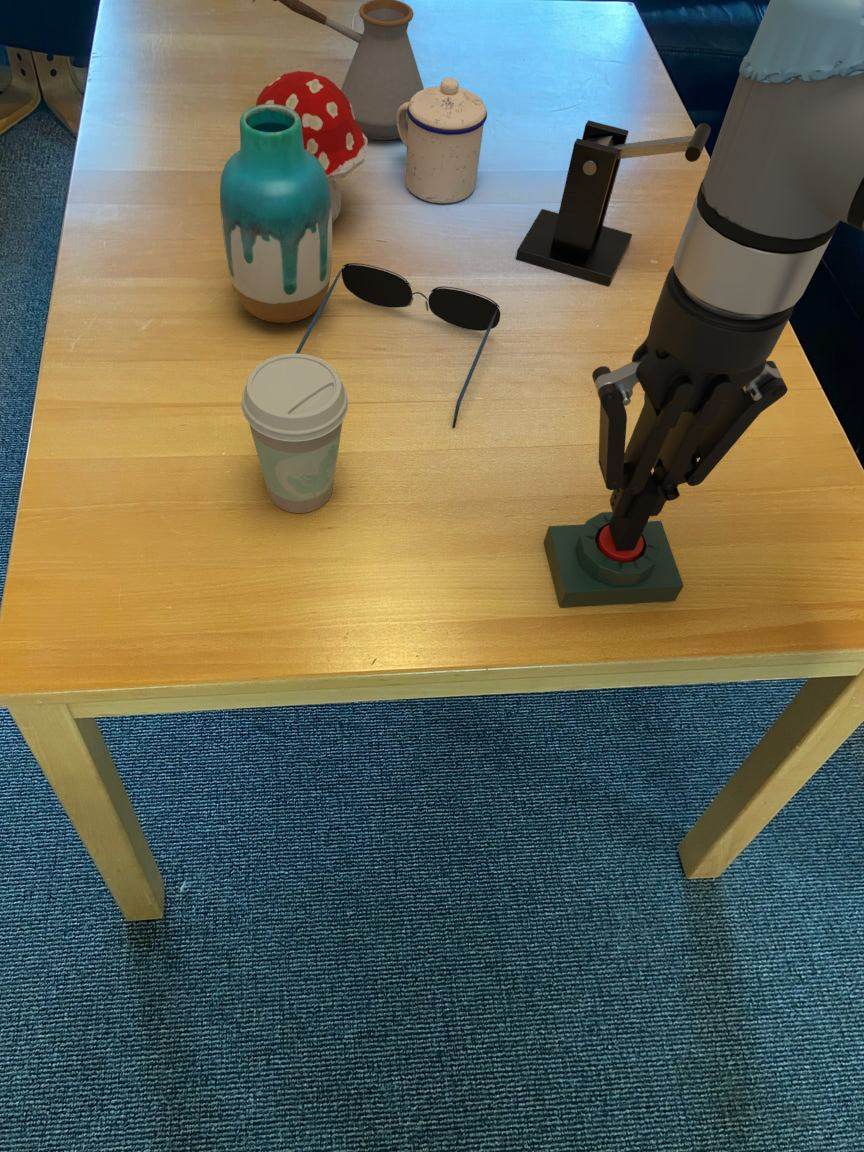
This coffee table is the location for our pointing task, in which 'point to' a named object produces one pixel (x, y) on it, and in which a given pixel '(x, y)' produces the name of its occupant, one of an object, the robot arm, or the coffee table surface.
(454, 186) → the teacup with lid
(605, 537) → the button
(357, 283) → the sunglasses
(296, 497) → the coffee cup
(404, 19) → the coffee pot
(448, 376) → the coffee table surface
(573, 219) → the black lever stand
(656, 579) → the button housing
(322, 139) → the decorative mushroom
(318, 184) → the vase
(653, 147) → the lever
